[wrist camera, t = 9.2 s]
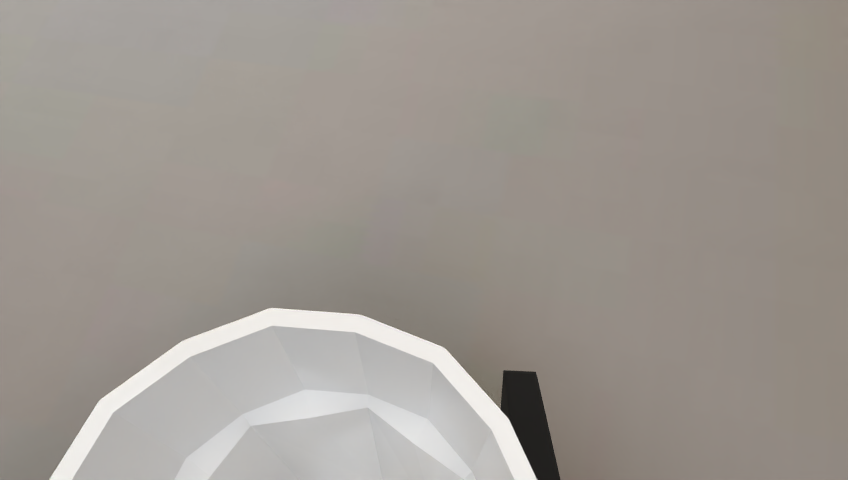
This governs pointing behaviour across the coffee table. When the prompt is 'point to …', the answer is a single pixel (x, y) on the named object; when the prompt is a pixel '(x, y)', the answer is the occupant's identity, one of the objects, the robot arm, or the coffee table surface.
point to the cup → (298, 409)
